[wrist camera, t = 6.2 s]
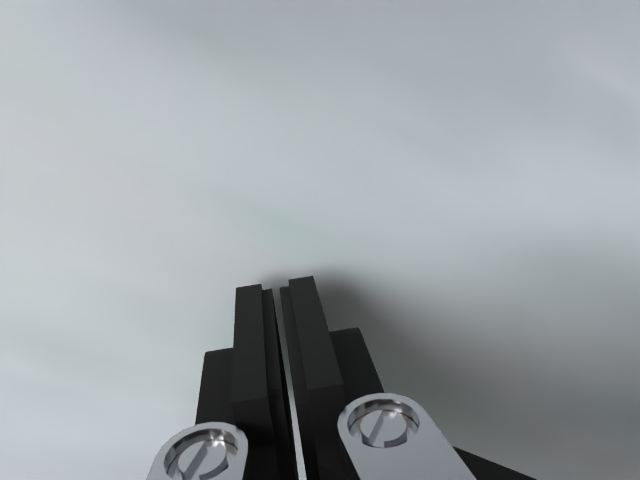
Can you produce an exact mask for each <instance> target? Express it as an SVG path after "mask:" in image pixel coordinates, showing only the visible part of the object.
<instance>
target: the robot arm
mask: <svg viewBox="0 0 640 480" xmlns="http://www.w3.org/2000/svg"><path fill="white" fill-rule="evenodd" d="M280 293H281V301H282V308H283V316H284V323H285V331H286V338H287V346H288V353H289V361H290V368H291V376H292V383H293V391H294V398H295V405H296V411H297V418H298V425H299V431H300V438H301V444H302V451H303V458H304V464H305V471H306V478H307V480H536V479H534V478H531V477H529V476H526V475H524V474H521V473H519V472H516V471H514V470H511V469H509V468H506V467H504V466H501V465H499V464H496V463H494V462H491V461H489V460H486V459H484V458H481V457H479V456H476V455H474V454H471V453H469V452H466V451H463V450H461V449H458V448H456V447H453V446H451V444H450V443H449V442H448V440H447V439H446V438H445V436H444V435H443V434H442V432H441V431H440V430H439V428H438V427H437V425H436V424H435V423H434V421H433V420H432V419H431V417H430V416H429V415H428V413H427V412H426V411H425V409H424V408H422V407H421V406H420V405H419V404H418V403H417V402H416V401H414V400H412V399H410V398H408V397H406V396H402V395H398V394H393V393H384V390H383V388H382V385H381V383H380V380H379V378H378V375H377V372H376V370H375V367H374V365H373V362H372V360H371V357H370V355H369V352H368V349H367V347H366V344H365V342H364V339H363V337H362V334H361V332H360V330H359V328H351V329H345V330H339V331H333V332H329V331H328V327H327V324H326V320H325V317H324V313H323V310H322V306H321V303H320V299H319V295H318V292H317V288H316V285H315V281H314V278H313V276H310V277H303V278H297V279H290V280H289V286H288V287H281V288H280ZM146 480H299V478H298V470H297V461H296V453H295V444H294V436H293V427H292V419H291V410H290V403H289V395H288V389H287V382H286V376H285V370H284V363H283V357H282V350H281V344H280V337H279V331H278V324H277V318H276V312H275V305H274V299H273V292H272V289H268V290H262V285H261V284H257V285H251V286H244V287H237V288H236V301H235V323H234V345H233V348H227V349H221V350H215V351H209V352H206V353H205V356H204V363H203V371H202V378H201V385H200V393H199V400H198V408H197V415H196V422H195V426H192V427H189V428H187V429H184V430H182V431H181V432H179V433H178V434H176V435H174V436H173V437H171V438H170V439H169V440H168V441H167V442H166V443H165V444H164V445H163V446H162V447H161V449H160V450H159V452H158V454H157V455H156V457H155V459H154V461H153V464H152V466H151V469H150V471H149V473H148V476H147V478H146Z"/></svg>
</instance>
